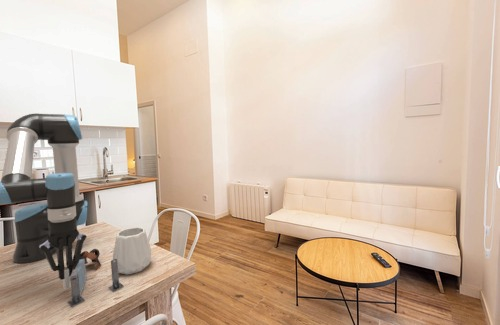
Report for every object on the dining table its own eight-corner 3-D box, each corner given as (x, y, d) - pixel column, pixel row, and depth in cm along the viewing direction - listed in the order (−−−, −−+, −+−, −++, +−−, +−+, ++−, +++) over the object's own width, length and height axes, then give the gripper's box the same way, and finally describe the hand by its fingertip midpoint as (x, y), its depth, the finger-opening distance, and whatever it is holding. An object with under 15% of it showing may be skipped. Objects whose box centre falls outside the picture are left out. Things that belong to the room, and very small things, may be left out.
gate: (78, 301, 77) (76, 275, 76) (72, 302, 76) (70, 276, 75) (86, 279, 89) (84, 256, 88) (80, 280, 89) (78, 257, 88)
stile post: (108, 288, 84) (106, 261, 83) (119, 283, 87) (117, 257, 86) (113, 291, 82) (111, 264, 81) (123, 286, 85) (121, 259, 84)
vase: (159, 261, 103) (157, 227, 101) (134, 279, 89) (131, 240, 88) (132, 257, 107) (130, 224, 106) (105, 274, 94) (102, 236, 92)
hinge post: (67, 302, 77) (65, 279, 76) (80, 296, 80) (78, 274, 79) (71, 307, 75) (69, 283, 74) (84, 301, 78) (82, 277, 77)
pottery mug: (95, 275, 94) (80, 260, 91) (75, 284, 95) (61, 270, 92) (110, 253, 105) (98, 240, 102) (93, 262, 106) (80, 249, 104)
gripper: (40, 226, 73) (45, 300, 75) (88, 216, 83) (91, 282, 85) (34, 221, 78) (39, 291, 79) (80, 213, 88) (84, 275, 89)
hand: (66, 286), depth 82 cm, fingers closed
